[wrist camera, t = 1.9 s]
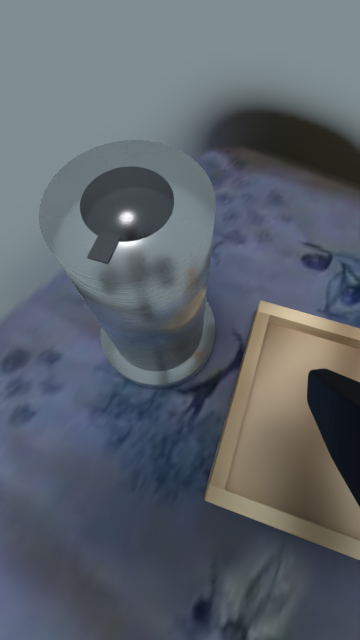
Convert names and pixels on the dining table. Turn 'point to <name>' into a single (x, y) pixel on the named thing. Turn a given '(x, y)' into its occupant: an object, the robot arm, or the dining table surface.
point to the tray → (286, 432)
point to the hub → (138, 254)
